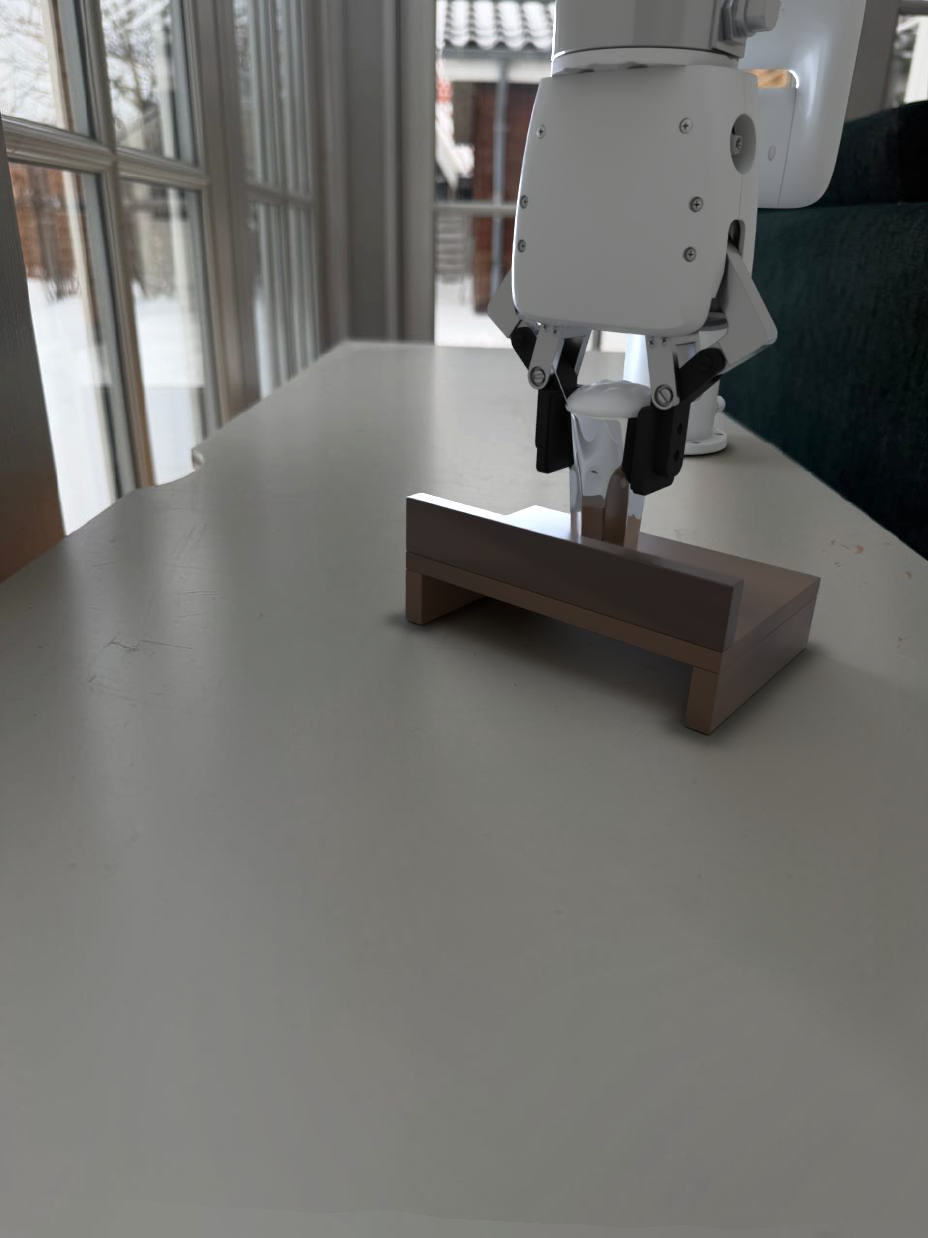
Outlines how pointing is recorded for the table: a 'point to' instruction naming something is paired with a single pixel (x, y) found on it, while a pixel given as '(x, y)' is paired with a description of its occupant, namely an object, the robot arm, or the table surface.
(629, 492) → the milkshake
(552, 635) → the table surface
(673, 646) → the shelf
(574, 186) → the robot arm
